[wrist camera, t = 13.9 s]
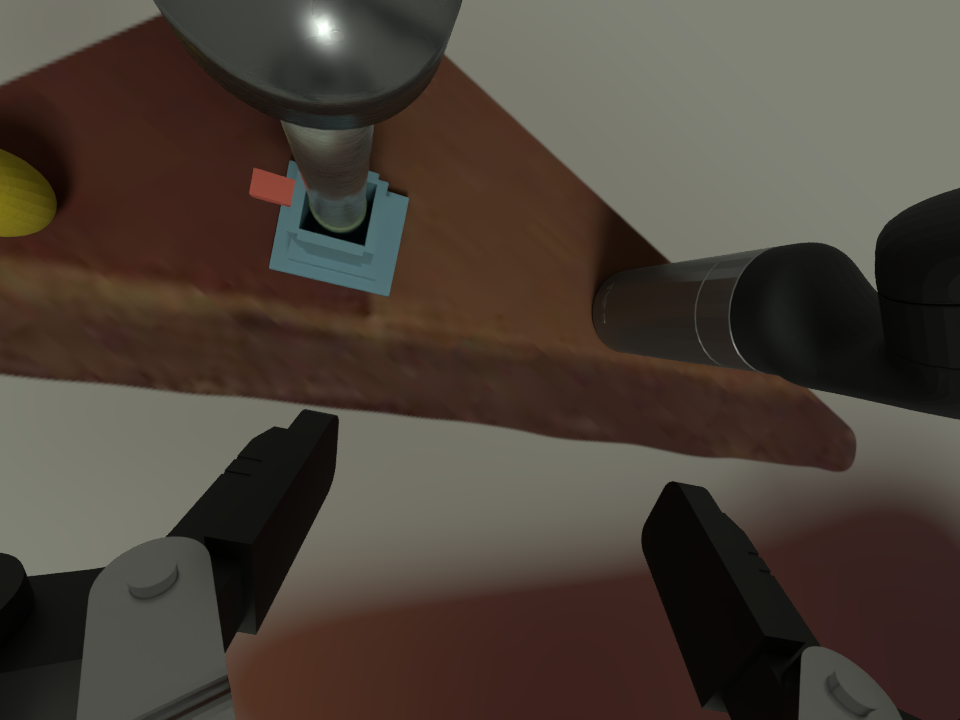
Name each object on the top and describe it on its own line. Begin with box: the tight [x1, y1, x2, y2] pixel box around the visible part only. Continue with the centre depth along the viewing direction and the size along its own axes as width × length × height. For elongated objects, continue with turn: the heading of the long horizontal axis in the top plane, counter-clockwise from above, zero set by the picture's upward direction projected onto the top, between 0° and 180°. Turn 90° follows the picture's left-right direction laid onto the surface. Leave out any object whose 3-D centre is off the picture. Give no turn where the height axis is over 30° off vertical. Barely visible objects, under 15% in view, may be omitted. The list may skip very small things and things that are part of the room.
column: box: [154, 0, 462, 240], centre depth 19 cm, size 6×6×24 cm
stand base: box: [249, 161, 409, 297], centre depth 32 cm, size 10×9×10 cm
